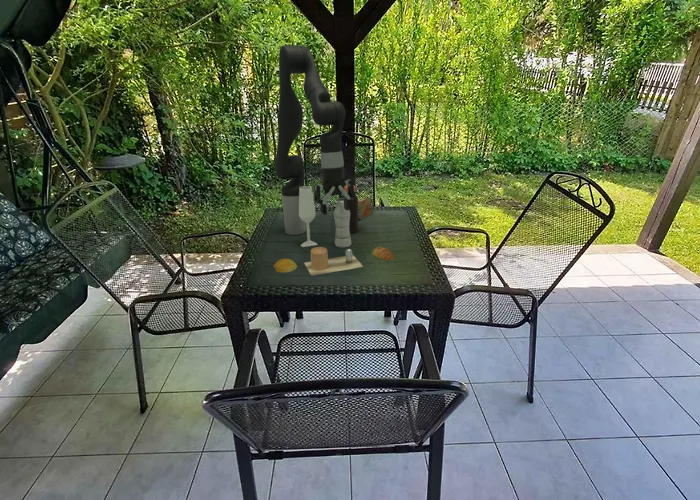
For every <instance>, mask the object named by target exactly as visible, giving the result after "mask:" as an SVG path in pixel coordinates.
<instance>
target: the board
mask: <svg viewBox="0 0 700 500" xmlns="http://www.w3.org/2000/svg"><path fill="white" fill-rule="evenodd" d="M303 264H304V265H305V267H306V269H307V271H308V272H309V274H310V276H317V275H323V274H329V273H330V274H331V273H334V272H336V273H337V272H340V271H341V272H342V271H346V270H347V271H348V270H353V269H359V268H364V266H363V265H362V263H361V262H360V260H359V259H357V258H356V256H355V255H354V254H352V263H350V264H348V263H346V255H344V256H337V257H336V256H335V257H331V258H328V268H327V269H325V270H321V271H318V270H314V269H312V267H311V261H306V262H303Z"/></svg>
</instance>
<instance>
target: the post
mask: <svg viewBox="0 0 700 500" xmlns="http://www.w3.org/2000/svg"><path fill="white" fill-rule="evenodd" d="M352 255H353V250H352V249H350V248H346V249H345V256H346V263H348V264H350V263H352Z"/></svg>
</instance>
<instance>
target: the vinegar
mask: <svg viewBox="0 0 700 500" xmlns="http://www.w3.org/2000/svg"><path fill="white" fill-rule="evenodd" d="M344 190H345V191H346V192H347V194H348V188H347V186H346V185H345V187H344ZM354 194H355V196H354V197H352V198H350V208H349V210H350V221H349V231H350V234H355V233H357V232H358V231H359V219H358V201H359V197H358V196H357V195H356V186H355V185H354ZM341 199H345V198H344V197H343V196H341Z"/></svg>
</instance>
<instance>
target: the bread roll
mask: <svg viewBox="0 0 700 500" xmlns="http://www.w3.org/2000/svg"><path fill="white" fill-rule="evenodd" d="M273 268H274V269H275V272H277V273H284V274H285V273H291V272H293V271H295V270H296V269H297V268H298V265H297V264H296V262H295V261H293V259H291V258H281V259H279V260H277V261H276V262H275V263H274V265H273Z"/></svg>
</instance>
